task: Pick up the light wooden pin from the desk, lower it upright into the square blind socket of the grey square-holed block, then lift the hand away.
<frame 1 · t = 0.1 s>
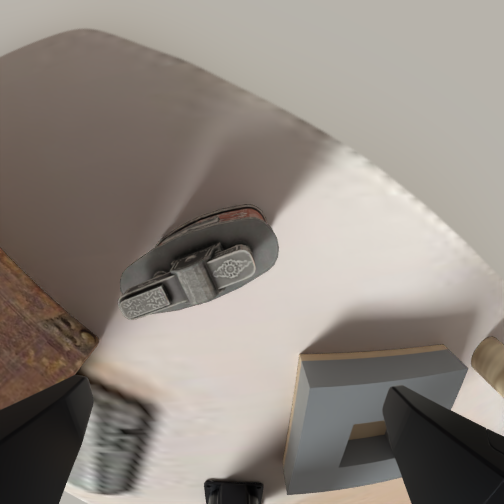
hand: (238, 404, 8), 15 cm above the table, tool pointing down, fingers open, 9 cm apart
grey square-holed block: (362, 411, 26), on the table
lighter: (210, 238, 22), on the table
wooden pin: (484, 353, 26), on the table
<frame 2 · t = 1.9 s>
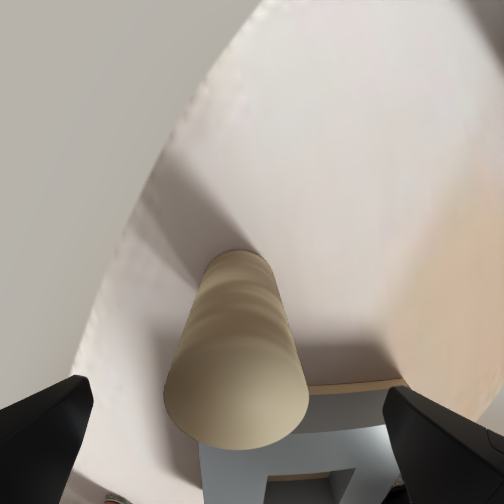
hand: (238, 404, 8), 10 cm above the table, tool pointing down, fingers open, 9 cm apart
grey square-holed block: (297, 451, 21), on the table
wooden pin: (238, 284, 18), on the table
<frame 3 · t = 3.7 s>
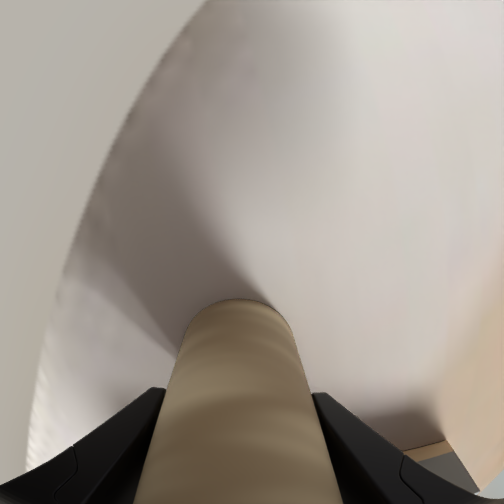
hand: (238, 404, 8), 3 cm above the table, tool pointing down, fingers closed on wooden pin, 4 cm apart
wooden pin: (238, 350, 11), on the table, touching gripper
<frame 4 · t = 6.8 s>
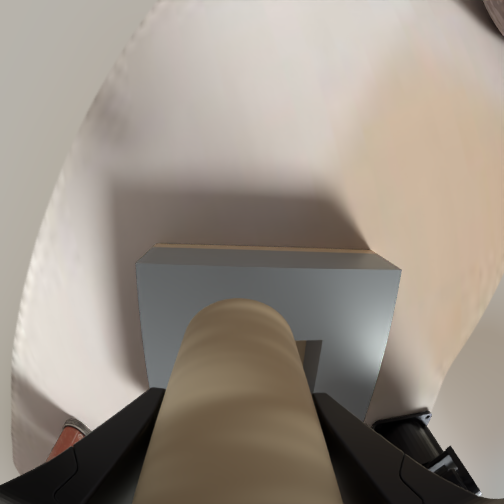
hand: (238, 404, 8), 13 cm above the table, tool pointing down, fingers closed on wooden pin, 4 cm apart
grey square-holed block: (261, 344, 22), on the table
lighter: (94, 445, 25), on the table
wooden sphere: (503, 19, 16), on the table
wooden pin: (238, 349, 11), point 10 cm above the table, touching gripper
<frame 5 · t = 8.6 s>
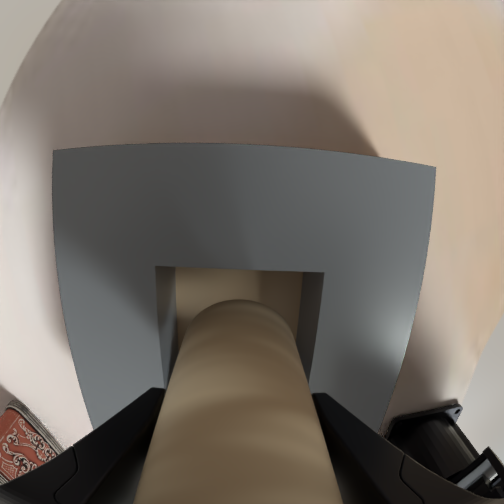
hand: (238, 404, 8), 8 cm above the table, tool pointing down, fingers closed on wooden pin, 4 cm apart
grey square-holed block: (238, 299, 16), on the table
lighter: (42, 435, 19), on the table
wooden pin: (238, 350, 11), point 5 cm above the table, touching gripper
when the fingers open (5 cm above the table, at t = 9.9 s): wooden pin drops 1 cm, resting on grey square-holed block.
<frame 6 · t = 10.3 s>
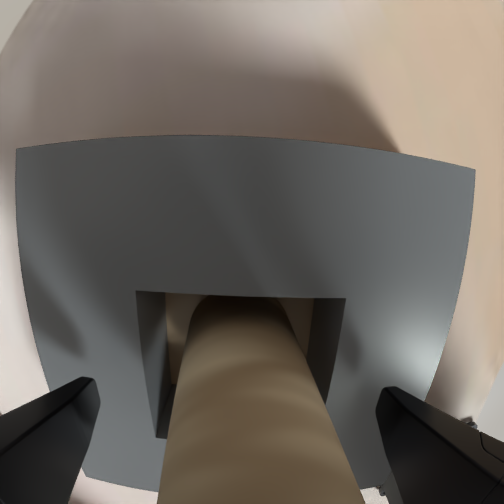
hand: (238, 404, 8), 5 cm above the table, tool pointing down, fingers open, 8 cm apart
grey square-holed block: (238, 320, 13), on the table
wooden pin: (239, 332, 12), point 1 cm above the table, touching grey square-holed block
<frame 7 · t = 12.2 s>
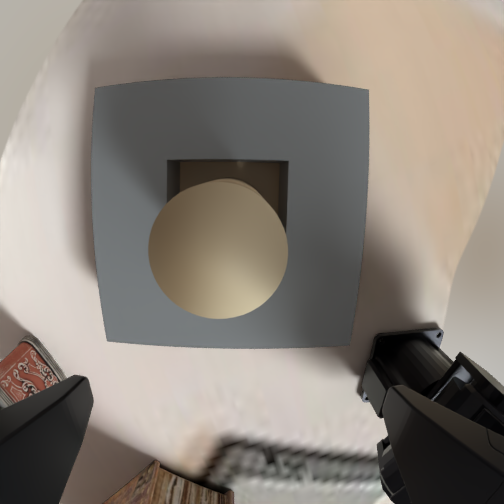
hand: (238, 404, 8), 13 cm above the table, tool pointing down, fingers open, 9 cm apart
grey square-holed block: (229, 209, 20), on the table
lighter: (51, 373, 22), on the table
wooden pin: (229, 211, 19), point 1 cm above the table, touching grey square-holed block
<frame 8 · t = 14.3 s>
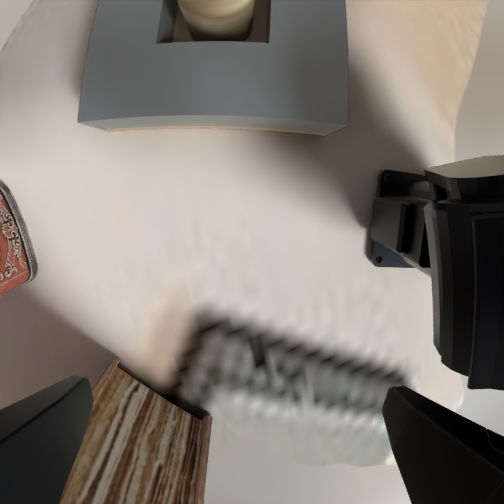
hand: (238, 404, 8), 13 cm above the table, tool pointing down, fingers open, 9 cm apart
book: (106, 449, 25), on the table
grey square-holed block: (220, 30, 17), on the table
lighter: (14, 233, 20), on the table
wooden pin: (220, 24, 16), point 1 cm above the table, touching grey square-holed block
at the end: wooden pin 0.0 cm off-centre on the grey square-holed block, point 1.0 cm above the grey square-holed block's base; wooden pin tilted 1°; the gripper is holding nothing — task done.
